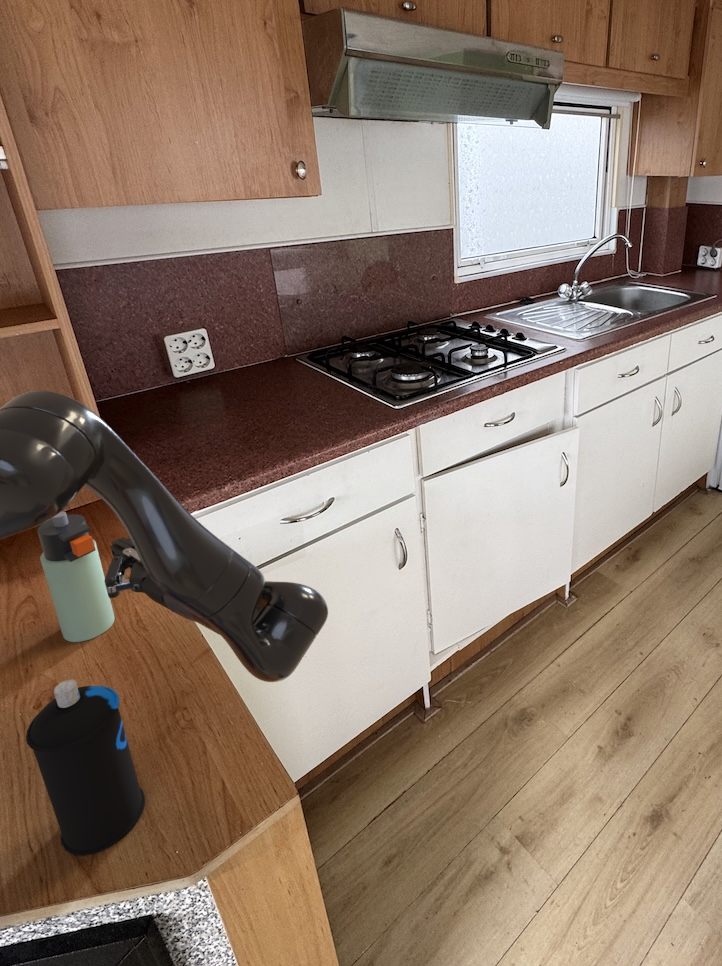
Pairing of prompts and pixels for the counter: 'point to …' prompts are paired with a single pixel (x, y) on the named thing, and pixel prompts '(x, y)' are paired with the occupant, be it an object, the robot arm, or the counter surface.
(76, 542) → the nozzle button
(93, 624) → the sports bottle
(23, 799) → the counter surface
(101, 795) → the black bottle
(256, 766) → the counter surface
